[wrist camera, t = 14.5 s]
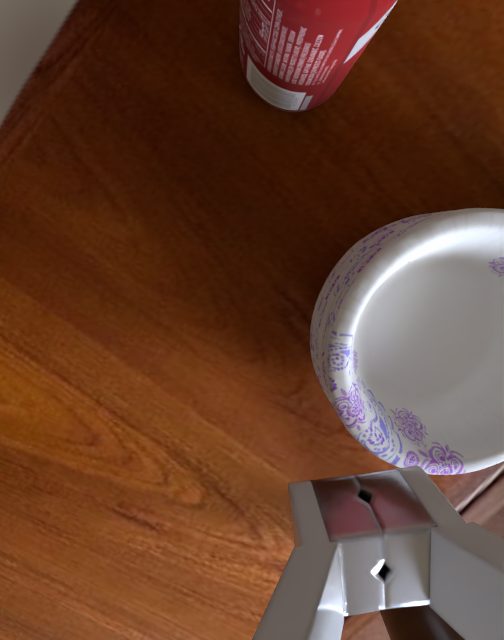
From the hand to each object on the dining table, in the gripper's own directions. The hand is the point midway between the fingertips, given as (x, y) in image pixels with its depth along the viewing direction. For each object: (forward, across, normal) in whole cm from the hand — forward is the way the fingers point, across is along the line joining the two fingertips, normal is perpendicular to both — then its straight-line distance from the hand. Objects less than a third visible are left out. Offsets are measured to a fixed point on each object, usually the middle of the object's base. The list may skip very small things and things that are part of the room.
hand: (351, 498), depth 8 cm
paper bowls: (+18, -10, +2) cm, 21 cm away
